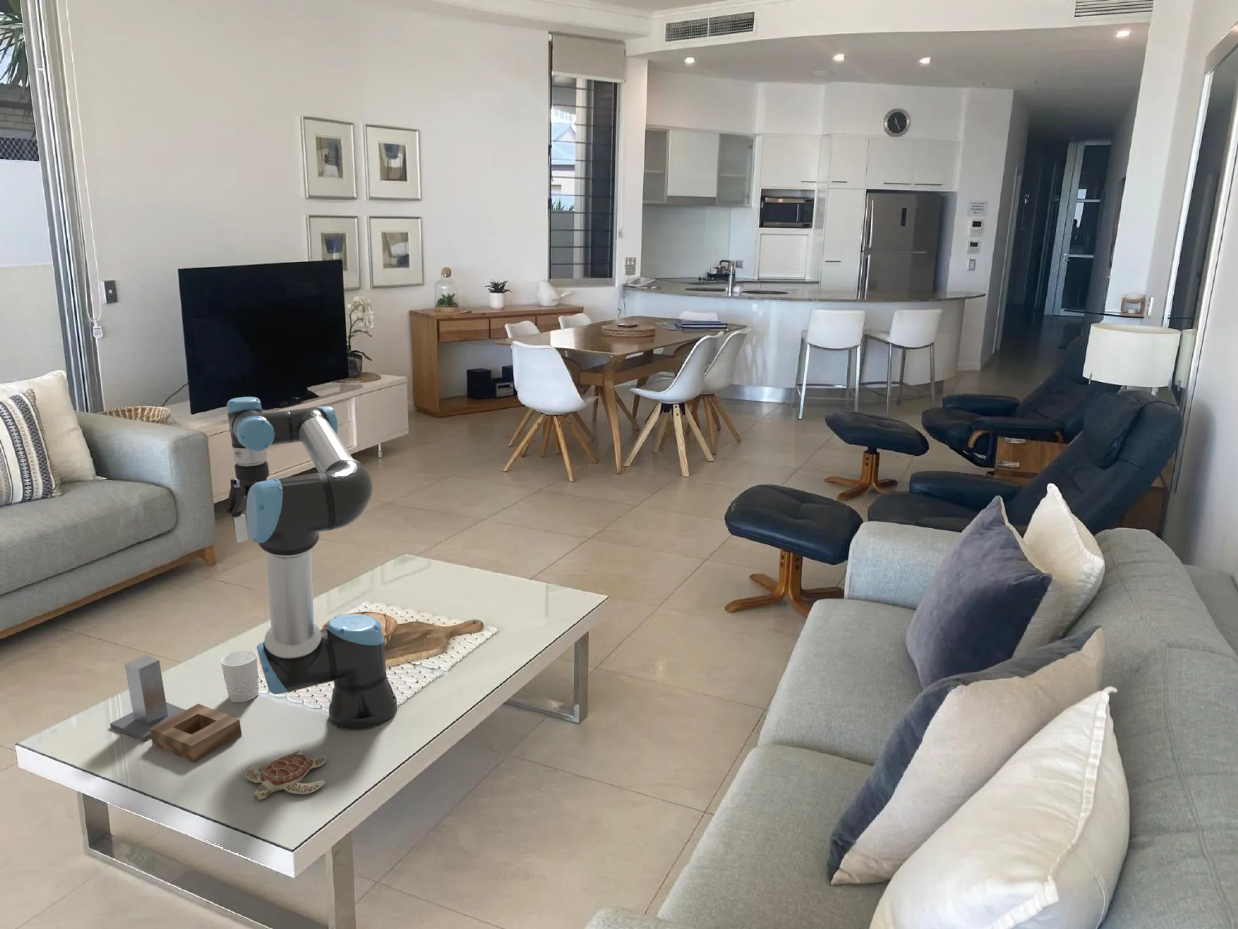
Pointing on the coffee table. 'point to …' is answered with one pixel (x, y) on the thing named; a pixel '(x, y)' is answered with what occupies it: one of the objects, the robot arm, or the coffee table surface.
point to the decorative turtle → (285, 775)
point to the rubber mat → (139, 729)
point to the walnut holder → (194, 747)
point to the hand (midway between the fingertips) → (261, 545)
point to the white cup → (241, 675)
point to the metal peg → (146, 690)
